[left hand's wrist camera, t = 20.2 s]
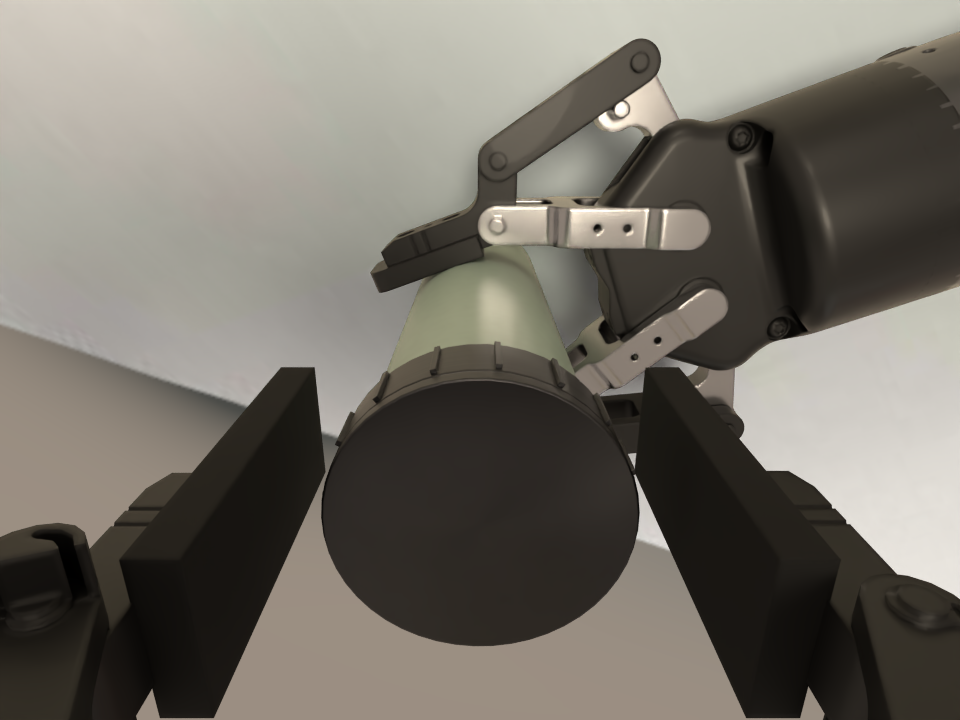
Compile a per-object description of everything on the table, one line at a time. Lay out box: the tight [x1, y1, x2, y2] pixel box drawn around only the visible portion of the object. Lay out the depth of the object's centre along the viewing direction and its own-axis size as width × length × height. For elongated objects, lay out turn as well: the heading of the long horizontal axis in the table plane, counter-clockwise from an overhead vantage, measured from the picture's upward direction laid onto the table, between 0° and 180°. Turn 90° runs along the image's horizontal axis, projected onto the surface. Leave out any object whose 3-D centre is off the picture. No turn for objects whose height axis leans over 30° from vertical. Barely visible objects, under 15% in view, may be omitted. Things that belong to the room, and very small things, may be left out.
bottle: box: [387, 245, 576, 377], centre depth 19 cm, size 5×5×17 cm
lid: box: [321, 341, 640, 646], centre depth 11 cm, size 6×6×2 cm
